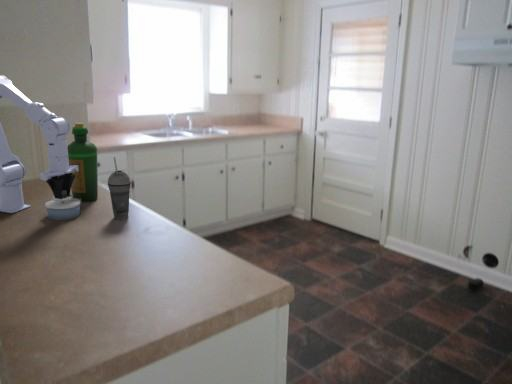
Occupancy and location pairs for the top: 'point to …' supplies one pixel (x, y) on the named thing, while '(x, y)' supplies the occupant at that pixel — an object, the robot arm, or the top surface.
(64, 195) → the knobbed lid
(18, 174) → the robot arm
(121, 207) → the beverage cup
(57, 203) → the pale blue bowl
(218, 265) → the top surface
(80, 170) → the bottle
